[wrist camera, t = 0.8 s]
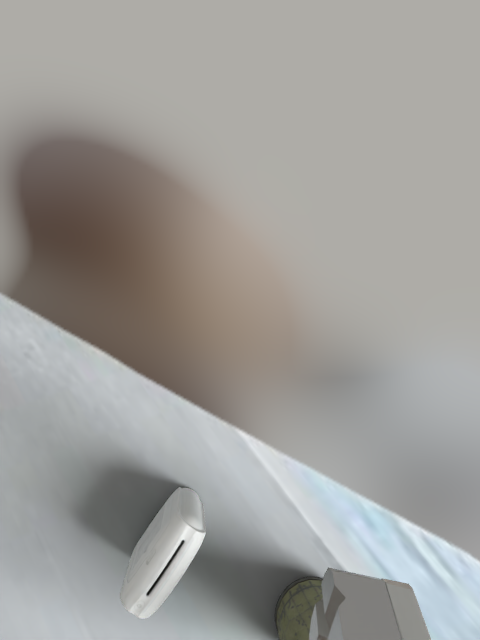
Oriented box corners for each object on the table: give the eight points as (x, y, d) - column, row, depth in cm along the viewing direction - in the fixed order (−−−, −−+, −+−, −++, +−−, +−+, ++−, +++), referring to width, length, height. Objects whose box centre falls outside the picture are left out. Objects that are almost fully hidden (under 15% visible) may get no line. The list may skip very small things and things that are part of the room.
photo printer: (156, 576, 53) (147, 638, 41) (126, 555, 53) (108, 611, 41) (208, 500, 55) (214, 538, 43) (179, 479, 55) (177, 511, 43)
